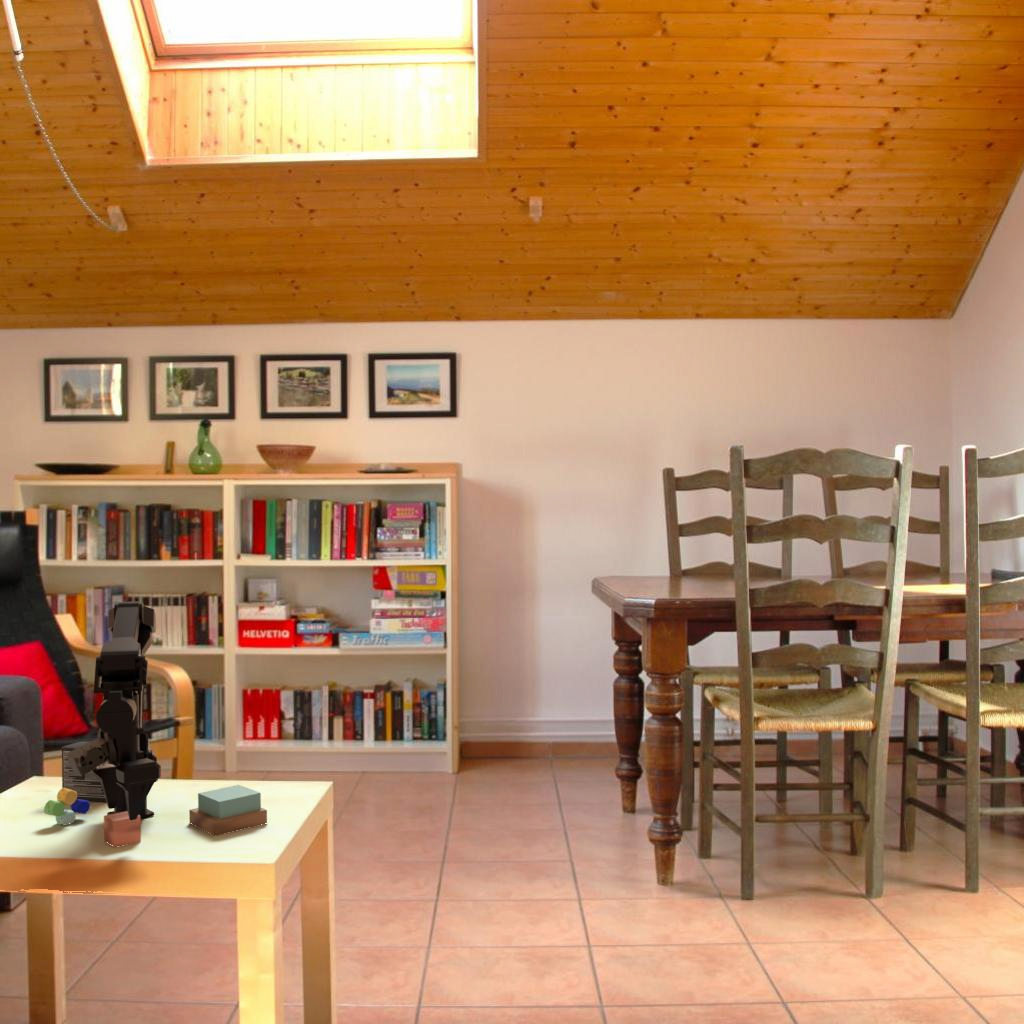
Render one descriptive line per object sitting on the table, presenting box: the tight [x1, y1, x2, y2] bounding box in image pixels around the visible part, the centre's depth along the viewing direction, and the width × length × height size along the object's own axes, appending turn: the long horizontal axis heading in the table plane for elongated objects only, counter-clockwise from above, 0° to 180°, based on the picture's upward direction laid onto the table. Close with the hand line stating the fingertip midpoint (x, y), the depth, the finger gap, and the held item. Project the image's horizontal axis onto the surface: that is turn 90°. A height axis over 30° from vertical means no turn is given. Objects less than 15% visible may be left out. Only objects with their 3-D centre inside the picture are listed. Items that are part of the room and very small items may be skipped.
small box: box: [61, 741, 107, 803], centre depth 206 cm, size 11×6×10 cm, turn 77°
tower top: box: [197, 784, 262, 819], centre depth 188 cm, size 8×8×3 cm
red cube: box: [103, 811, 142, 848], centre depth 178 cm, size 4×4×4 cm
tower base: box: [189, 807, 268, 837], centre depth 187 cm, size 10×10×3 cm
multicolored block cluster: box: [43, 788, 91, 825], centre depth 189 cm, size 8×3×6 cm, turn 145°
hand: (122, 813), depth 178 cm, fingers open, 9 cm apart
